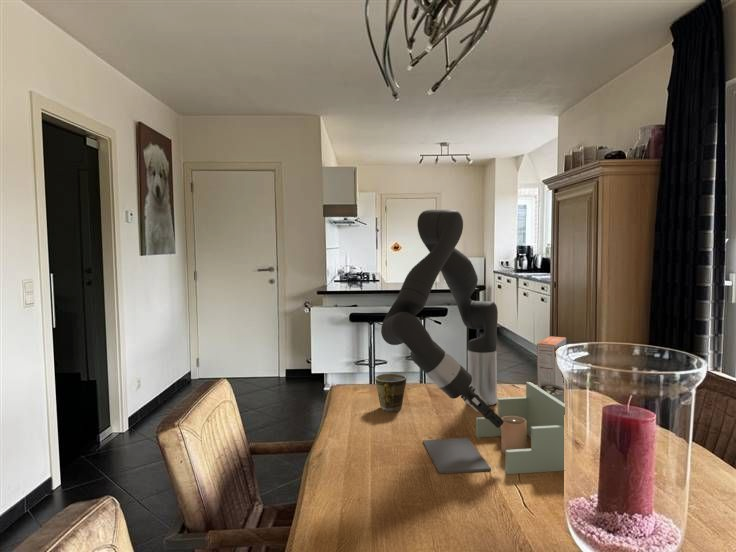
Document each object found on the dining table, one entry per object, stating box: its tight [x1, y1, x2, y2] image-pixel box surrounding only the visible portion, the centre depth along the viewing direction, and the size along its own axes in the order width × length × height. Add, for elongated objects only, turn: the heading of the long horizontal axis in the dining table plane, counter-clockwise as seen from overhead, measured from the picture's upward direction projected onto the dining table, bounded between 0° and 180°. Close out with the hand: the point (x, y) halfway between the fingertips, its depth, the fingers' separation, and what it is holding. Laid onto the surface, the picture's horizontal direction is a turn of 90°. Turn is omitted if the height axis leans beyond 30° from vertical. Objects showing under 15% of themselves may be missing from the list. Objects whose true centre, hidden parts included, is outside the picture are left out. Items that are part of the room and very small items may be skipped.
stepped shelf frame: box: [475, 381, 566, 475], centre depth 118 cm, size 22×15×14 cm
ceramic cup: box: [374, 373, 407, 412], centre depth 152 cm, size 13×10×10 cm
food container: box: [541, 383, 565, 404], centre depth 137 cm, size 12×6×10 cm, turn 168°
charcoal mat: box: [422, 437, 492, 475], centre depth 117 cm, size 18×12×1 cm, turn 5°
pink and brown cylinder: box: [500, 416, 528, 455], centre depth 118 cm, size 6×6×8 cm
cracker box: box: [536, 335, 567, 388], centre depth 153 cm, size 14×6×21 cm, turn 144°
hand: (494, 418), depth 117 cm, fingers open, 8 cm apart
